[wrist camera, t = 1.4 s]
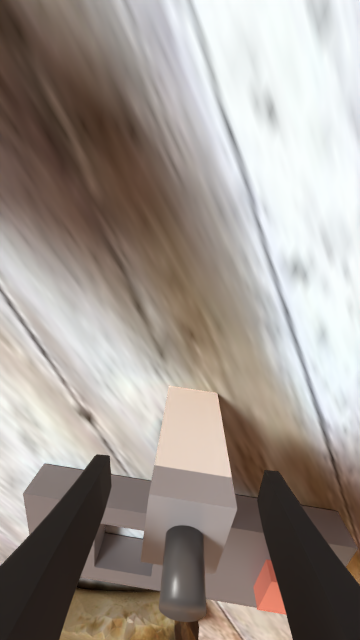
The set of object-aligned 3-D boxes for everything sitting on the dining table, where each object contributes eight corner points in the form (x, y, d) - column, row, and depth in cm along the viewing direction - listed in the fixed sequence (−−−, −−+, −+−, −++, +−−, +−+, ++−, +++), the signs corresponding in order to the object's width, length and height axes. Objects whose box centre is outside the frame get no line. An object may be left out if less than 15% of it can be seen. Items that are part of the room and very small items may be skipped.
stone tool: (195, 577, 18) (-56, 561, 20) (196, 668, 14) (-110, 636, 17) (202, 614, 23) (-1, 598, 25) (203, 689, 19) (-34, 662, 22)
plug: (217, 392, 13) (249, 581, 5) (206, 442, 14) (219, 648, 7) (169, 385, 13) (136, 562, 5) (162, 434, 14) (128, 632, 7)
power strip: (337, 511, 15) (371, 571, 12) (298, 578, 18) (318, 640, 15) (44, 463, 15) (10, 511, 12) (51, 536, 18) (25, 589, 15)
